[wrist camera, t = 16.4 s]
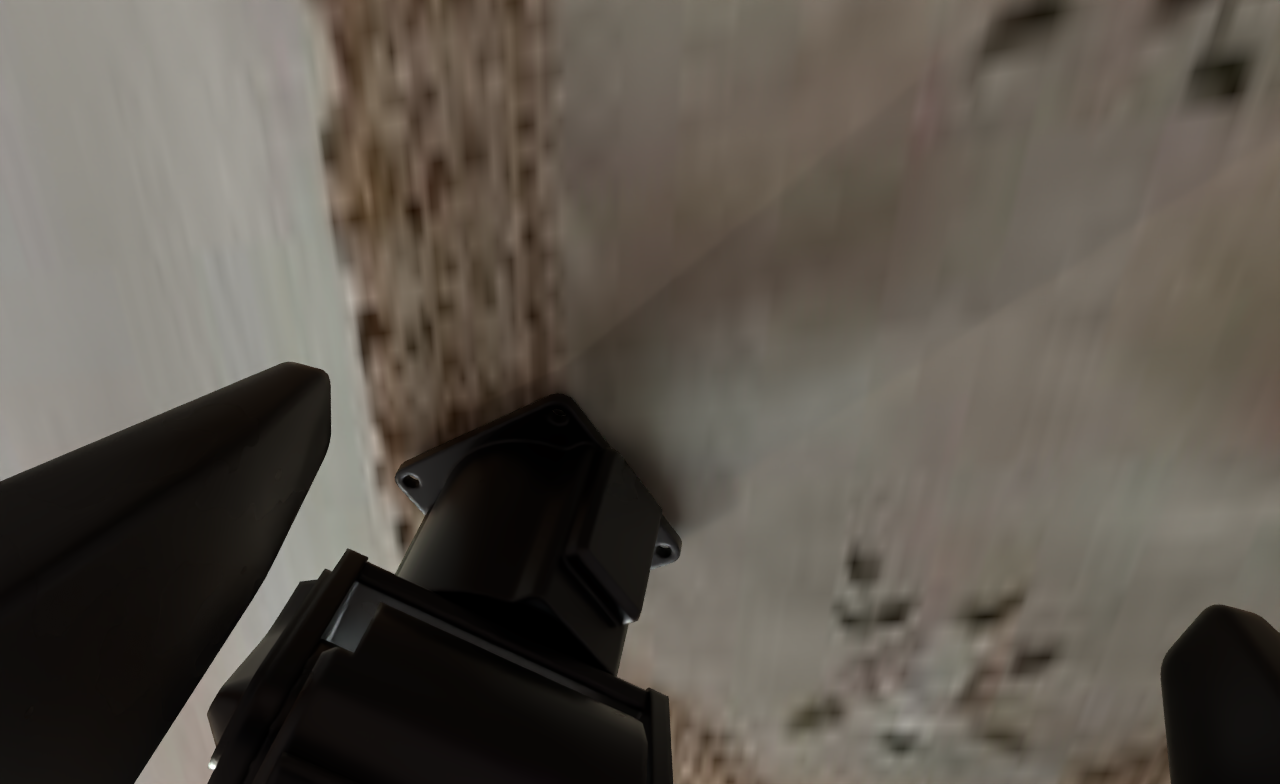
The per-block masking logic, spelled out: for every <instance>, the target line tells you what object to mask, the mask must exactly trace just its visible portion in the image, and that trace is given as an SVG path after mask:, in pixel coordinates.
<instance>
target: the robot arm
mask: <svg viewBox="0 0 1280 784" xmlns="http://www.w3.org/2000/svg"><path fill="white" fill-rule="evenodd" d="M554 409H558V410H561V411H563V412H564V413H565V414H566V415H564V416H561V415H557V414H556V413H555V412H553V410H554ZM330 437H331V385H330V379H329V376H328V374H327V373H326V372H325V371H324V370H322V369H318V368H314V367H310V366H307V365H303V364H299V363H295V362H284V363H281V364H278V365H276V366H274V367H271V368H269V369H267V370H264V371H262V372H259V373H257V374H255V375H252V376H250V377H248V378H245V379H243V380H240V381H238V382H236V383H233V384H231V385H229V386H226V387H224V388H221V389H219V390H217V391H214V392H212V393H210V394H207V395H205V396H202V397H200V398H198V399H195V400H193V401H191V402H188V403H186V404H183V405H181V406H179V407H176V408H174V409H171V410H169V411H167V412H164V413H162V414H160V415H157V416H155V417H152V418H150V419H148V420H145V421H143V422H141V423H138V424H136V425H133V426H131V427H129V428H126V429H124V430H122V431H119V432H117V433H114V434H112V435H110V436H107V437H105V438H103V439H100V440H98V441H95V442H93V443H91V444H88V445H86V446H84V447H81V448H79V449H76V450H74V451H72V452H69V453H67V454H65V455H62V456H60V457H57V458H55V459H53V460H50V461H48V462H46V463H43V464H41V465H38V466H36V467H34V468H31V469H29V470H27V471H24V472H22V473H19V474H17V475H15V476H12V477H10V478H7V479H5V480H3V481H0V784H134V783H135V781H136V780H137V778H138V777H139V775H140V773H141V772H142V770H143V769H144V767H145V766H146V764H147V763H148V761H149V759H150V758H151V756H152V755H153V753H154V752H155V750H156V749H157V747H158V745H159V744H160V742H161V741H162V739H163V738H164V736H165V735H166V733H167V731H168V730H169V728H170V727H171V725H172V724H173V722H174V721H175V719H176V717H177V716H178V714H179V713H180V711H181V710H182V708H183V707H184V705H185V703H186V702H187V700H188V699H189V697H190V696H191V694H192V693H193V691H194V689H195V688H196V686H197V685H198V683H199V682H200V680H201V679H202V677H203V676H204V674H205V672H206V671H207V669H208V668H209V666H210V665H211V663H212V662H213V660H214V658H215V657H216V655H217V654H218V652H219V651H220V649H221V648H222V646H223V644H224V643H225V641H226V640H227V638H228V637H229V635H230V634H231V632H232V630H233V629H234V627H235V626H236V624H237V623H238V621H239V620H240V618H241V616H242V615H243V613H244V612H245V610H246V609H247V607H248V606H249V604H250V602H251V601H252V599H253V598H254V596H255V594H256V593H257V591H258V589H259V588H260V586H261V584H262V583H263V581H264V579H265V578H266V576H267V574H268V572H269V570H270V568H271V566H272V564H273V562H274V560H275V558H276V556H277V554H278V552H279V550H280V548H281V546H282V544H283V542H284V540H285V538H286V536H287V534H288V532H289V530H290V528H291V525H292V523H293V521H294V519H295V517H296V515H297V513H298V511H299V509H300V507H301V505H302V503H303V501H304V499H305V497H306V495H307V493H308V491H309V488H310V486H311V484H312V482H313V480H314V478H315V476H316V474H317V472H318V470H319V468H320V466H321V464H322V462H323V460H324V458H325V455H326V453H327V450H328V447H329V443H330ZM409 475H411V476H414V477H415V478H417V479H418V480H416V479H413V478H412V477H410V476H409ZM395 481H396V483H397V485H398V487H399V488H400V489H401V490H402V491H403V492H404V493H405V494H406V495H407V496H408V497H409V499H410V500H411V501H412V502H413V503H414V504H415V505H416V506H417V507H418V508H419V509H420V510H421V512H422V513H423V514H424V515H425V517H424V519H423V521H422V523H421V525H420V527H419V529H418V531H417V533H416V535H415V537H414V539H413V541H412V543H411V544H410V546H409V548H408V550H407V552H406V554H405V556H404V558H403V560H402V562H401V564H400V566H399V568H398V570H397V572H396V573H395V574H393V573H391V572H389V571H386V570H384V569H382V568H380V567H378V566H376V565H373V564H371V563H369V562H367V560H368V557H366V556H364V555H361V554H359V553H357V552H355V551H353V550H351V549H349V548H348V549H347V550H346V552H345V553H344V555H343V556H342V558H341V559H340V561H339V562H338V564H337V565H336V567H335V568H334V570H333V571H330V570H328V569H325V570H324V571H323V572H322V574H321V575H320V577H319V578H318V580H310V581H302V582H300V583H299V585H298V586H297V588H296V589H295V591H294V593H293V594H292V596H291V597H290V599H289V601H288V602H287V604H286V605H285V607H284V609H283V610H282V612H281V613H280V615H279V616H278V618H277V620H276V621H275V623H274V624H273V626H272V627H271V629H270V630H269V632H268V633H267V634H266V636H265V637H264V638H263V640H262V641H261V642H260V643H259V644H258V646H257V647H256V648H255V649H254V650H253V651H252V652H251V654H250V655H249V656H248V657H247V658H246V659H245V661H244V662H243V663H242V664H241V665H240V666H239V668H238V669H237V670H236V671H235V672H234V673H233V675H232V676H231V677H230V678H229V679H228V680H227V681H226V683H225V684H224V685H223V686H222V688H221V689H220V691H219V692H218V694H217V695H216V697H215V699H214V701H213V702H212V704H211V706H210V708H209V710H208V713H207V716H208V720H209V723H210V727H211V730H212V734H213V737H214V741H215V745H216V749H215V751H214V753H213V755H212V757H211V760H210V762H209V765H208V768H209V769H211V770H214V771H213V773H212V775H211V777H210V779H209V782H208V784H673V771H672V752H671V733H670V714H669V698H668V696H666V695H664V694H661V693H659V692H657V691H655V690H653V689H651V688H647V689H646V690H644V689H642V688H639V687H637V686H635V685H633V684H631V683H629V682H626V681H624V680H622V679H620V678H618V677H617V673H618V668H619V664H620V659H621V655H622V651H623V646H624V642H625V637H626V633H627V628H628V624H629V623H632V622H635V621H638V619H639V617H640V613H641V610H642V606H643V601H644V596H645V592H646V587H647V582H648V578H649V573H650V570H652V569H655V568H658V567H661V566H664V565H667V564H670V563H672V562H674V561H676V560H677V559H678V558H679V556H680V552H681V547H682V541H681V539H680V537H679V536H678V534H677V533H676V532H675V530H674V529H673V528H672V527H671V525H670V524H669V523H668V521H667V520H666V519H665V517H664V516H663V515H662V509H661V507H660V506H659V505H658V503H657V502H656V501H655V499H654V498H653V497H652V496H651V494H650V493H649V492H648V490H647V489H646V488H645V486H644V485H643V484H642V483H641V481H640V480H639V479H638V477H637V476H636V475H635V473H634V472H633V471H632V469H631V468H630V467H629V466H628V464H627V463H626V462H625V460H624V459H623V458H622V456H621V455H620V454H619V453H618V452H617V451H616V450H614V449H612V448H611V447H610V446H609V445H608V443H607V442H606V441H605V439H604V438H603V437H602V436H601V434H600V433H599V432H598V430H597V429H596V428H595V426H594V425H593V424H592V423H591V421H590V420H589V419H588V417H587V416H586V415H585V413H584V412H583V411H582V410H581V408H580V407H579V406H578V404H577V403H576V402H575V401H574V400H573V399H572V398H571V397H569V396H567V395H565V394H558V393H556V394H552V395H549V396H547V397H545V398H543V399H540V400H538V401H536V402H534V403H532V404H530V405H527V406H525V407H523V408H521V409H519V410H516V411H514V412H512V413H510V414H508V415H506V416H503V417H501V418H499V419H497V420H495V421H492V422H490V423H488V424H486V425H484V426H482V427H479V428H477V429H475V430H473V431H471V432H468V433H466V434H464V435H462V436H460V437H458V438H455V439H453V440H451V441H449V442H447V443H444V444H442V445H440V446H438V447H436V448H434V449H431V450H429V451H427V452H425V453H423V454H420V455H418V456H416V457H414V458H412V459H410V460H407V461H405V462H404V463H403V464H401V466H400V468H399V469H398V471H397V473H396V476H395ZM660 545H665V546H668V547H669V548H663V547H661V546H660ZM1161 687H1162V697H1163V707H1164V717H1165V727H1166V738H1167V748H1168V758H1169V768H1170V778H1171V784H1280V633H1279V632H1278V631H1277V630H1275V629H1274V628H1273V627H1272V626H1271V625H1270V624H1269V623H1268V622H1267V621H1266V620H1265V619H1263V618H1262V617H1261V616H1259V615H1257V614H1255V613H1252V612H1248V611H1244V610H1241V609H1237V608H1233V607H1229V606H1225V605H1212V606H1210V607H1208V608H1206V609H1205V610H1203V611H1202V612H1201V614H1200V615H1199V616H1198V617H1197V618H1196V619H1195V620H1194V622H1193V623H1192V624H1191V625H1190V626H1189V627H1188V628H1187V630H1186V631H1185V632H1184V633H1183V634H1182V635H1181V636H1180V638H1179V639H1178V640H1177V641H1176V642H1175V643H1174V644H1173V646H1172V647H1171V648H1170V649H1169V650H1168V652H1167V653H1166V655H1165V657H1164V659H1163V663H1162V666H1161Z"/></svg>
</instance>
